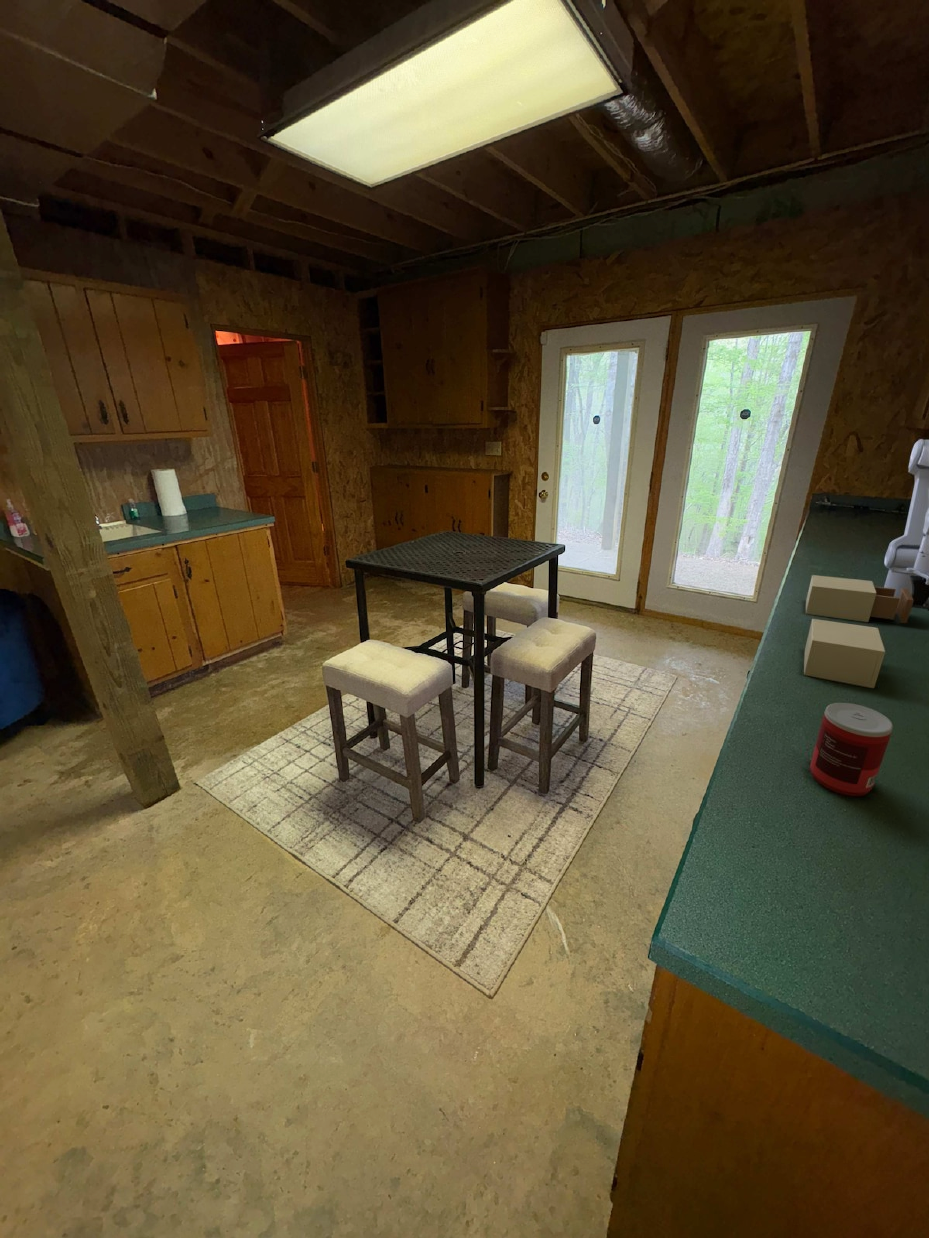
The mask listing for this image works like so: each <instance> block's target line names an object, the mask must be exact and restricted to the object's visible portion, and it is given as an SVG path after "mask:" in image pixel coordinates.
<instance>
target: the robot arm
mask: <svg viewBox="0 0 929 1238" xmlns="http://www.w3.org/2000/svg"><path fill="white" fill-rule="evenodd" d="M908 473H909V474H912V475H913V476H914V486H913V490H912V495H911V499H910V500H911V501H910V505H909V510H908V514H907V519H906V523H905V529H904V532H903V533H904V534H903V535H902V536H899V537H897V538H895V539H893V540H891V542H889V545H888V548H887V550H886V553H885V556H884V562H883V563H884V566H885V568H886V569H888V571H887V575H886V580H885V582H884V585H883V588H893V589H896V590H895V594H894V597H898V598H899V595H900V592H901V589H902V588H906V589H908V591H909V592H910V594H911V596H912V598H913V600H914V601H913V604H912V605H921V606H925V605H924V604H925V603H926V601H927V600H928V599H929V439H924V438H919V439H918V440H917V441H916V442H915V443H914V445H913V447H912V449H911V454H910V458H909V463H908Z"/></svg>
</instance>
